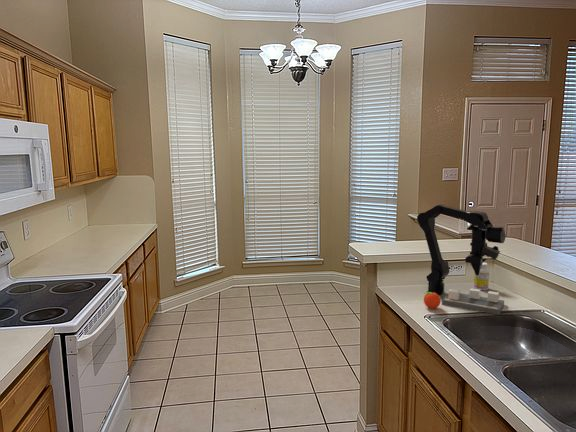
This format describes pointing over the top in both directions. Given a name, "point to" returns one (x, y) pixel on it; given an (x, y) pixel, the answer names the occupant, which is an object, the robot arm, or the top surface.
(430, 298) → the red tomato
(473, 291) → the tab middle
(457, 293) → the tab left
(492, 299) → the tab right
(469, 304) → the switch bank
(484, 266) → the supplement bottle
